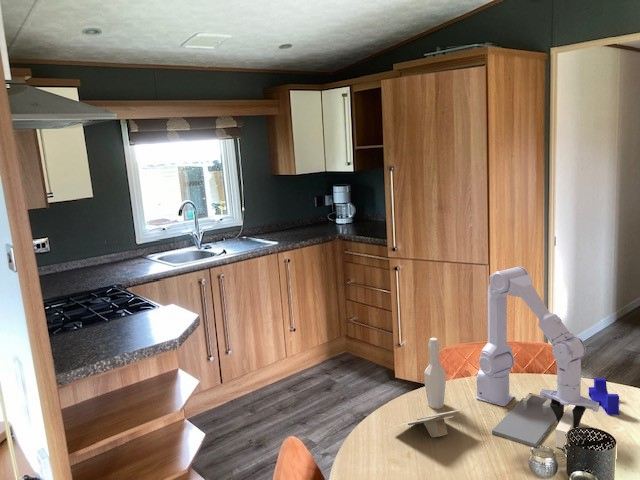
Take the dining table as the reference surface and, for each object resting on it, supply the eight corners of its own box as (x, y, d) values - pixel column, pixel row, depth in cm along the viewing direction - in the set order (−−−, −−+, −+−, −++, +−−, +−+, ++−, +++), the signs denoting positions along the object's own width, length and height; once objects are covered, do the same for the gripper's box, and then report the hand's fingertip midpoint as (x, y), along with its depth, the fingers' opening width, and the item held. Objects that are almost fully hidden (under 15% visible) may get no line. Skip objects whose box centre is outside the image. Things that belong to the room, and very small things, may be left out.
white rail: (555, 446, 138) (555, 429, 137) (569, 419, 151) (569, 403, 150) (567, 449, 136) (567, 432, 136) (580, 421, 149) (580, 405, 148)
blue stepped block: (588, 396, 164) (588, 378, 163) (604, 396, 163) (604, 378, 162) (602, 415, 152) (602, 396, 151) (618, 415, 151) (619, 396, 150)
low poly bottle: (440, 411, 161) (437, 344, 157) (422, 406, 165) (419, 340, 161) (450, 403, 166) (447, 337, 162) (432, 398, 170) (429, 334, 166)
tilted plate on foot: (401, 457, 146) (434, 439, 136) (389, 426, 150) (419, 407, 140) (442, 443, 156) (475, 425, 146) (429, 415, 160) (460, 396, 150)
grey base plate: (492, 433, 147) (491, 420, 146) (523, 400, 164) (523, 388, 163) (535, 447, 139) (535, 433, 138) (563, 411, 156) (563, 398, 155)
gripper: (535, 380, 143) (536, 426, 145) (593, 394, 133) (593, 443, 136) (545, 371, 148) (545, 415, 150) (601, 383, 138) (600, 430, 141)
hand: (568, 427), depth 143 cm, fingers closed on white rail, 3 cm apart
